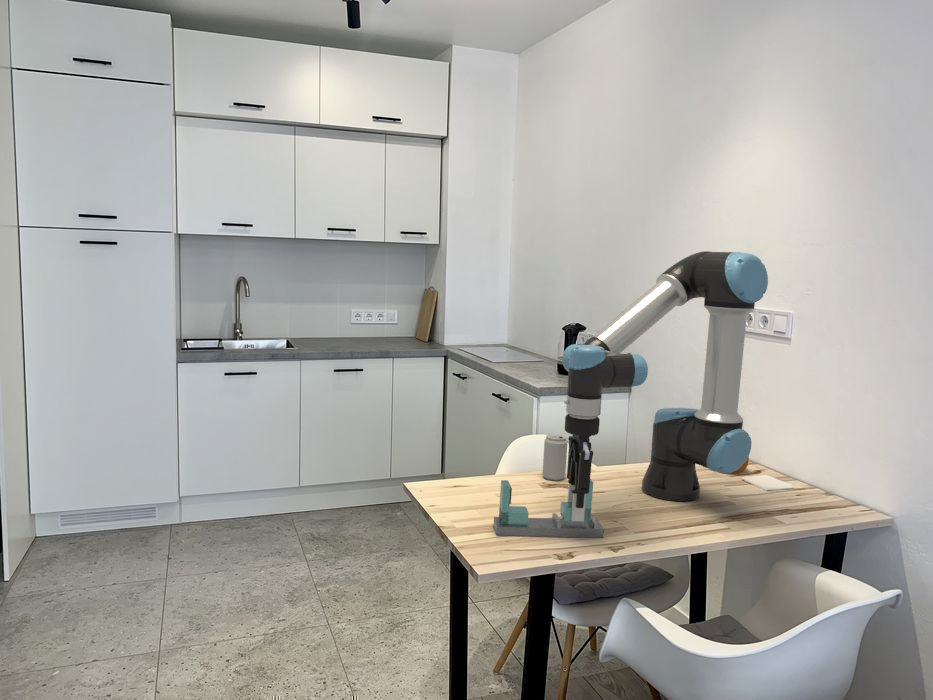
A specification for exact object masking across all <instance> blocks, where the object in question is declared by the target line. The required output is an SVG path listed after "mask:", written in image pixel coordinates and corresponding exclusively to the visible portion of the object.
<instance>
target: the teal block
mask: <svg viewBox="0 0 933 700" xmlns="http://www.w3.org/2000/svg"><path fill="white" fill-rule="evenodd" d="M593 492H594V481H593V480H592V479H591V478H590V486H589V494H586V500H585V513H584V521H587V522H590V519H591V514H592V506H593V504H592V503H593ZM559 515H560V516H561V519H563V520H564V521H571V515H572V502H568V501H561V502H560V514H559Z"/></svg>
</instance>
